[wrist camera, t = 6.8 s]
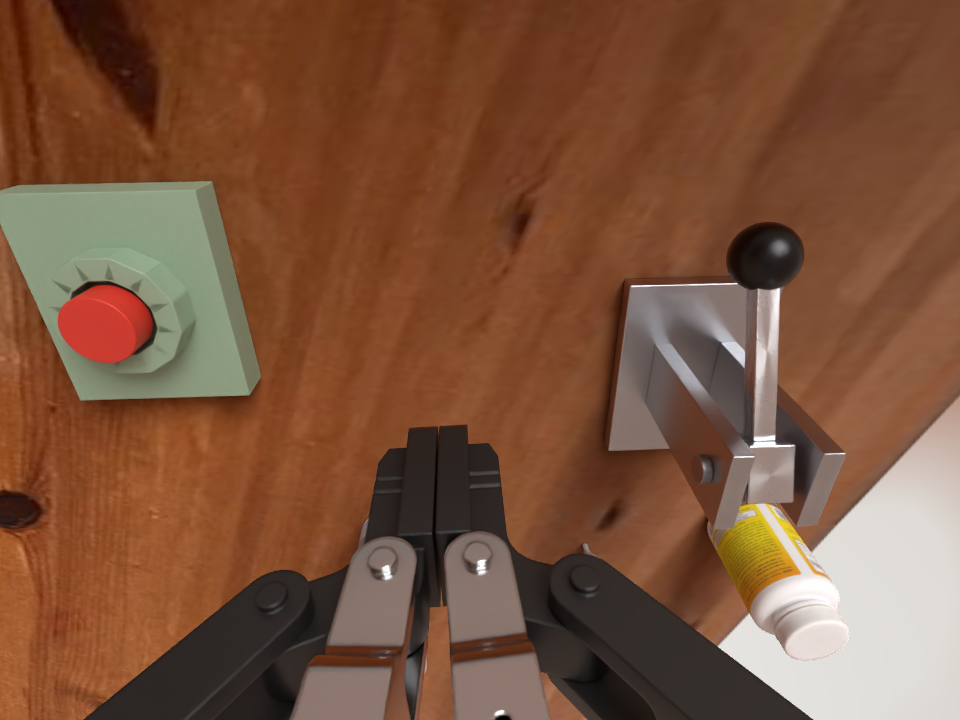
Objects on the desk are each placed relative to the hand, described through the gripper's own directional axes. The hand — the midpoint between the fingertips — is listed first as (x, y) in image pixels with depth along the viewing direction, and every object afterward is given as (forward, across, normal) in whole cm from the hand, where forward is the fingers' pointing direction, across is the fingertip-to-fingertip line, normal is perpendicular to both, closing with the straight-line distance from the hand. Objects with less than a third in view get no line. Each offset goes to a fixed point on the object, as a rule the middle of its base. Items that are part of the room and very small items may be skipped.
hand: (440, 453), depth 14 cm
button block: (+19, +17, +2) cm, 25 cm away
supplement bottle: (+18, -21, +23) cm, 36 cm away
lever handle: (+12, -15, +5) cm, 19 cm away
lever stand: (+18, -15, +9) cm, 25 cm away
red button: (+15, +17, +2) cm, 23 cm away
